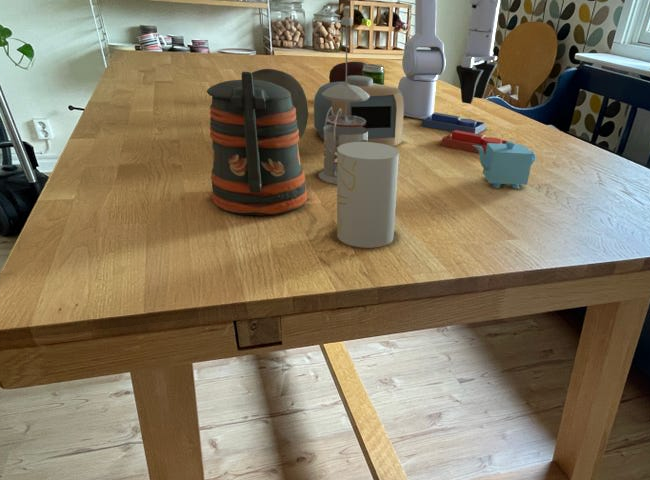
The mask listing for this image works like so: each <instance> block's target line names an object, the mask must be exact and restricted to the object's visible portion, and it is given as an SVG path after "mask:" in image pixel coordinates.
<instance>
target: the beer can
mask: <svg viewBox="0 0 650 480" xmlns="http://www.w3.org/2000/svg"><path fill="white" fill-rule="evenodd" d="M363 66H364V67H363V69H362V76H366V77H370V78H372V79H373V83H375V84H380V85H385V66H384V65H382V64H374V63H365V65H363Z"/></svg>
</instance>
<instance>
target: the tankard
mask: <svg viewBox="0 0 650 480" xmlns="http://www.w3.org/2000/svg"><path fill="white" fill-rule="evenodd" d="M206 93H207V95H208V96H211V104H210V105H209V116H210V118H209V121H210V123H209V137H210V139H211V140H212V141H211V144H212V145H211V146H212V148H211V149H212V150H211V151H212V168H211V171H210V174H211V175H210V180H211V189H212V191H211V193H212V196H211V198H212V199H211V200H212V201H213V202H214V204H215V205H216V206H217V207H219V208H221V209H222V210H224V211H226V212H228V213H229V212H230V213H233V214H237V215H244V216H247V215H248V216H261V217H262V216H266V215H268V216H270V215H274V216H276V215H282V214H285V213H289V212H294V211H296V210H298V209H299V208H301V207H302V206H303V205H304V204H305V203H306V202H307V199H308V193H307V189H306V176H305V170H304V169H303V168H302V164H301V157H300V150H299V143H298V142H299V141H300V140H299V135H298V133H299V130H298V126H297V120H296V113H295V112H296V109H295V107H294V106H293V105H292V99H291V93H290V92H289V91H288V90H286V89H285V88H283V87H281V86H278V85H276V84H273V83H270V82H266V81H261V80H253V78H252V72H250V71H242V72H241V79H232V80H231V79H230V80H225V81H221V82H218V83H216V84H214V85H212V86H210V87H209V88H208V89H207V90H206Z"/></svg>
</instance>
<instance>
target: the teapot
mask: <svg viewBox="0 0 650 480" xmlns="http://www.w3.org/2000/svg"><path fill="white" fill-rule="evenodd" d="M506 141H507V142H506V144H498V143H487V148H486V154H484V150H483V148H482V147H481V146H478V145H472V146H474V147H475V148H477V150H478V152H479V153H478V152H477V153H478V156H479V162H480V165H481V167H482V174H483V177H484V178H486V181H487V182H488V184H492V186H491V187H492V188H496V189H499V188H501V185H502V184H503V185H510V187H511V188H512V189H520V185H521V186H522V185H524V186H527V185H528V182H529V177H530V172H531V168H532V165H533V164H534V162H535V161H536V153H535V152H534V151H533V150H531V149H529V148H528V147H527V146H526V144H516V142H515V141H510V140H506Z"/></svg>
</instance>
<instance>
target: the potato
mask: <svg viewBox="0 0 650 480" xmlns="http://www.w3.org/2000/svg"><path fill="white" fill-rule="evenodd" d="M365 64H366V62H363V61H347V76H362V69H363V67H364V66H363V65H365ZM345 78H346V61H345V62H340V63H338V64H335V65H334V66H332V68H331V69H330V70H329V75H328V79H329V82H328V83H331V82H345Z"/></svg>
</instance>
